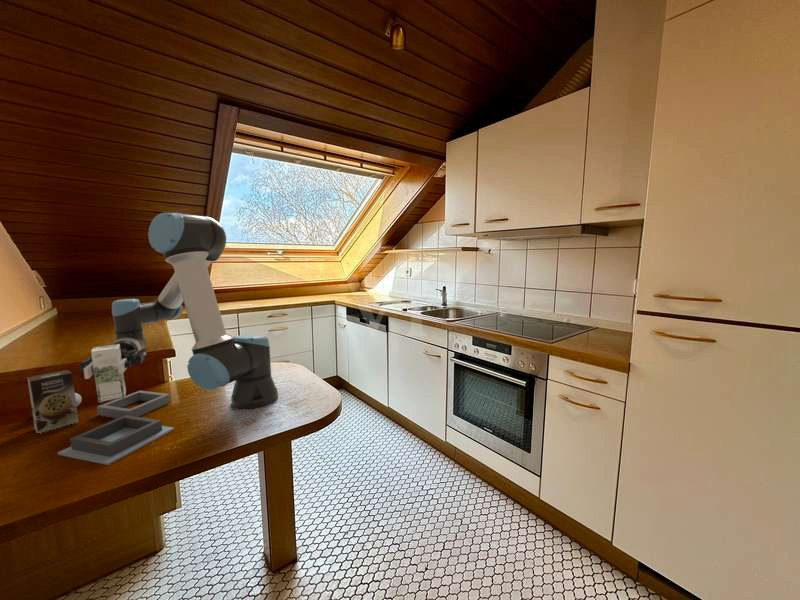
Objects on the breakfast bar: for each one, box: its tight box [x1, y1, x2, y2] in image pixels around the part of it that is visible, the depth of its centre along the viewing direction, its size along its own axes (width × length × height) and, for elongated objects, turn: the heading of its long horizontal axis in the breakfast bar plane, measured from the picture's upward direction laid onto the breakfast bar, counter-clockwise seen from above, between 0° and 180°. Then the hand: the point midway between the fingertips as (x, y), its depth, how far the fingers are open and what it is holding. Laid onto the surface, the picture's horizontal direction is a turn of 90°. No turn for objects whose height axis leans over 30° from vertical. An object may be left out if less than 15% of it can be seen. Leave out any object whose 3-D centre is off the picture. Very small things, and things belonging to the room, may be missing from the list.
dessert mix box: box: [27, 369, 80, 434], centre depth 105 cm, size 9×6×16 cm
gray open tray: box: [96, 390, 172, 419], centre depth 117 cm, size 14×14×3 cm
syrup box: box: [90, 344, 127, 404], centre depth 95 cm, size 6×6×14 cm
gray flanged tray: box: [57, 415, 175, 466], centre depth 96 cm, size 18×18×4 cm
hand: (103, 371), depth 91 cm, fingers closed on syrup box, 6 cm apart
